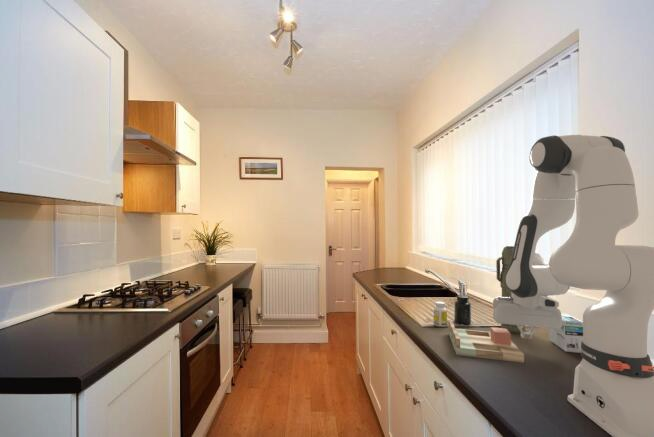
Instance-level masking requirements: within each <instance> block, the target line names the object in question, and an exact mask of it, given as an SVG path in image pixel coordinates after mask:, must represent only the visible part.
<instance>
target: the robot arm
mask: <svg viewBox="0 0 654 437" xmlns="http://www.w3.org/2000/svg"><path fill="white" fill-rule="evenodd" d="M529 163H530V165H531V167H532V168H533V170H535V171H536V173H535V176H534V179H533V185H532V190H531V196H530V198H531V199H530V206H529V209H528V211H527V213H526V214H525V215H524V216H523V217H522V219H521V220H520V221H519V224H518V228H517V231H516V236H515V240H514V244H513V246H514V249H513V254H512V258H511V262H510V265H509V268H508V270H507V272H506V276H505V283H506V285H507V287H508V289H509V290H510V291H511V297H502V296H497V297H494V299H493V300H492V306H493V313H492V317H493V320H494V321H495V323H496V324H499V325H501V324H511V325H517V327H518V329H519V330H520V332H521V333H520V338H522V339H527V340H528V339H529V340H532V339H533V334H534V333H535V332H536V330H537V328H545V329H546V328H547V329H550V328H556V329H560V328H561V327H562V316H561V314H562V312H561V310H560V309H559V306H560V302H559V301H558V300H556V299H554V298H552V297H550V296H559V295H565V294H566V293H567V292H568V291H569V289H570V288H575V289H576V288H577V289H581V290H591V291H606V292H605V294H604V296H603V297H602V298H601V299H600V300H599V301H598V302H596V303H594V304H591V305H589V306H588V307H586V309H585V310H584V312H583V314H582V321H583V341H582V342H581V347H580V350H581V353H580V356H581V358H582V359H581V361H580V362H579V364H578V365H576V367H575V368H574V376H573V377H574V378H573V379H574V380H573V391H572V393H570V394H568V395H567V399H566V400H567V401H568V402H569V403H570V404H571V405H572V406H574V407H575V408H576V409H578V411H580V412H581V413H582V414H584V415H585V416H587V418H589V419H590V420H591V421H592V422H594V424H596V425H597V426H599V427H600V428H601V429H602V430H604V431H606V433H607V434H609V435H611V437H654V365H653V362H652V360H651V357H650V355H649V354H648V330H649V321H650V317H651V315H652V314H653V311H654V246H653V247H652V246H647V245H628V244H627V245H626V244H625V245H620V244H618V245H617V244H616V238H617V235H619V234H618V233H619V232H620V231H621V230H623V229H626V228H628V227H630V226H631V225H633V224H634V223H636V221H637V219H638V218H639V208H638V207H639V206H638V199H637V190H636V184H635V178H634V172H633V170H632V166H631V164H630V160H629V159H628V156H627V154H626V149H625V145H624V143H623V141H621V140H620V139H618V138H615V137H611V136H606V135H600V136H599V135H598V136H596V135H587V134H586V135H582V134H566V135H565V134H564V135H549V136H544V137H541V138H539V139H538V140H536V141H535V142H534V144H533V145H532V147H531V149H530V153H529ZM575 207H576V208H575ZM575 210H576V212H575ZM574 212H575V213H576V219H575V224H574V228H573V229H572V230H573V231H572V233H571V235H570V236H569V238H567V240H566V241H565V242H564V243H563V244H561V245H560V246H558V247H557V248H556V249H555V250H554V251H553V252H552V254H551V255H550V257H549V261H547V260H545V259H544V258H543V257H542V256H541V255H540V254H539V253H537V252H536V249H537V244H538V242H539V240H540V239H541V237H543V236H544V235H545V234H546V233H548V232H550V231H552V230H555V229H557V228H560V227H562V226H563V225H566V224H567V223H568V222H569V221H570V220H571V219H572V217H573V216H574ZM524 326H525V327H528V328H529V330H528V332H527V331H525V332H523V330H522V329H523V328H524Z"/></svg>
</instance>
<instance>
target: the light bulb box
mask: <svg viewBox="0 0 654 437" xmlns="http://www.w3.org/2000/svg"><path fill="white" fill-rule="evenodd" d="M561 316H562V327H561V328H560V329H556V328H549V341H550V342H551V343H552V344H554V345H556V346H557V347H558V348H560V349H561V350H563V351H564V352H568V353H578V354H581V350H580V347H581V342H582V341H583V319H582V320H581V319H579V318H577V317H575V316H573V315H570V314H569V313H561Z"/></svg>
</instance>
